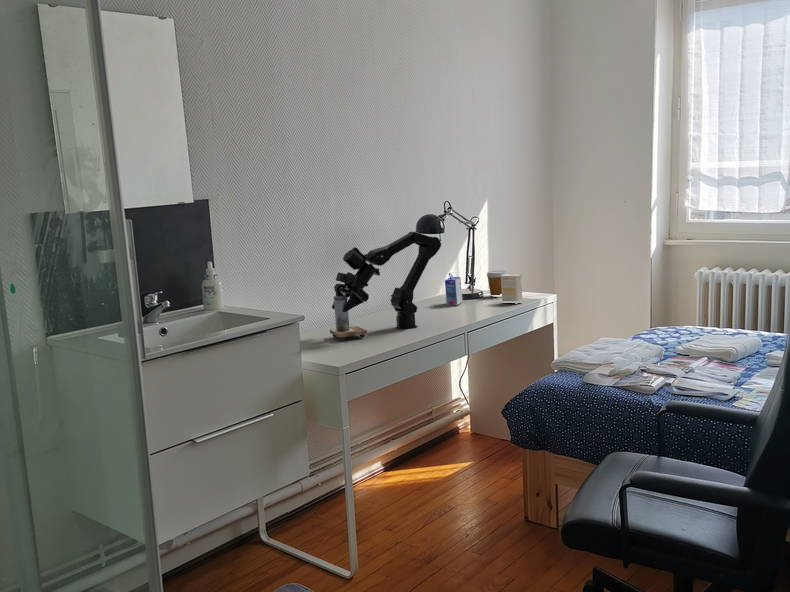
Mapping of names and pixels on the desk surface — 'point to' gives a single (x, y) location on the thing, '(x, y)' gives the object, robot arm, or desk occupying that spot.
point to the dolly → (349, 332)
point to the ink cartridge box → (453, 290)
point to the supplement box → (511, 287)
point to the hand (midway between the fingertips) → (338, 310)
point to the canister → (341, 313)
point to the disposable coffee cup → (495, 281)
